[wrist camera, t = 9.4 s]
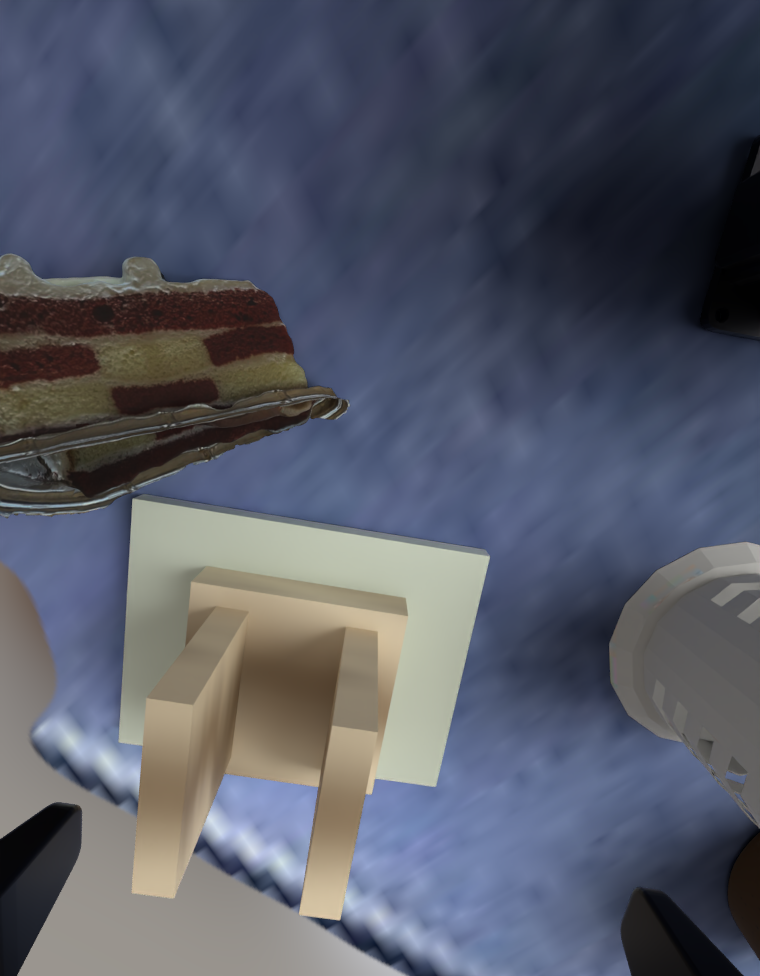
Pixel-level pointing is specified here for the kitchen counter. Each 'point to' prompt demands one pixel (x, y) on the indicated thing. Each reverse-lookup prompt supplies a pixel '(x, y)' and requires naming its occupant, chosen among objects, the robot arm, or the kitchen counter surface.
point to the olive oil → (747, 893)
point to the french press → (698, 661)
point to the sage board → (316, 559)
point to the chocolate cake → (135, 382)
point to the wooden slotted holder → (268, 718)
